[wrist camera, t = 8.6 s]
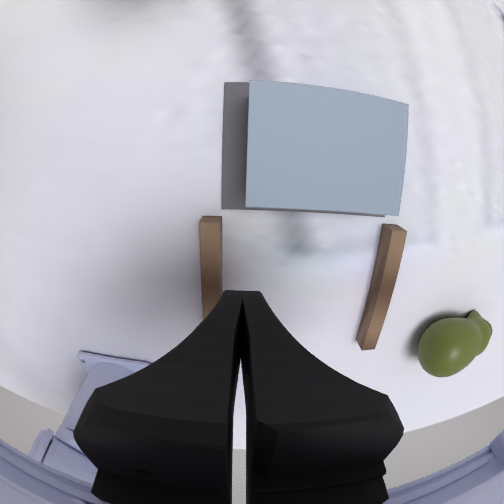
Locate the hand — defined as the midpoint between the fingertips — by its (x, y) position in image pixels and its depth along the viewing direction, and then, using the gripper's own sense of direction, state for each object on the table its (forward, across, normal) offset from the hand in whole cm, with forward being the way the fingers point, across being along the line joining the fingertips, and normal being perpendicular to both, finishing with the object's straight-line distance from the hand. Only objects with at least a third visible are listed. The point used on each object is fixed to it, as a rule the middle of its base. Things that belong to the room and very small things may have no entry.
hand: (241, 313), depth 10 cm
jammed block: (+9, -4, -6) cm, 11 cm away
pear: (+9, -21, +9) cm, 24 cm away
